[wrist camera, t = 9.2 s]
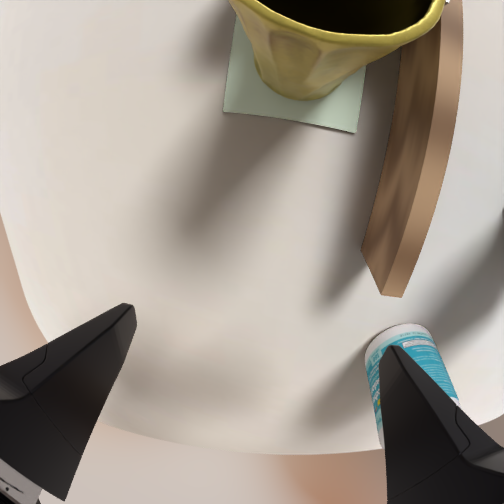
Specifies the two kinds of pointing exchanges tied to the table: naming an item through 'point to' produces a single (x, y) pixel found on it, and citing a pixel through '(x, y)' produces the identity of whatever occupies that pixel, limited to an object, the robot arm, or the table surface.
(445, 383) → the pill bottle
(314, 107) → the mat
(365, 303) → the table surface
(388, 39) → the vase
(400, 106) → the back rail
